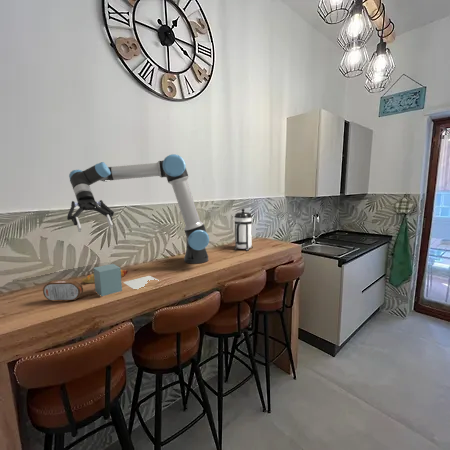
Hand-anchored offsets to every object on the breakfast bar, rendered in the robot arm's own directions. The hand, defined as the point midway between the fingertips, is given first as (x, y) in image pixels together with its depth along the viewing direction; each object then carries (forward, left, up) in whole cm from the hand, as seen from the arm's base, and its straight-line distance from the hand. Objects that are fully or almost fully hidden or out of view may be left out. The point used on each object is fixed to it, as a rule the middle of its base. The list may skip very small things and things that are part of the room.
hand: (96, 228), depth 121 cm
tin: (+14, +12, -28) cm, 33 cm away
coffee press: (-93, -37, -28) cm, 104 cm away
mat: (-18, +5, -28) cm, 34 cm away
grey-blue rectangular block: (-3, +10, -28) cm, 30 cm away
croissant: (-2, -8, -28) cm, 29 cm away
